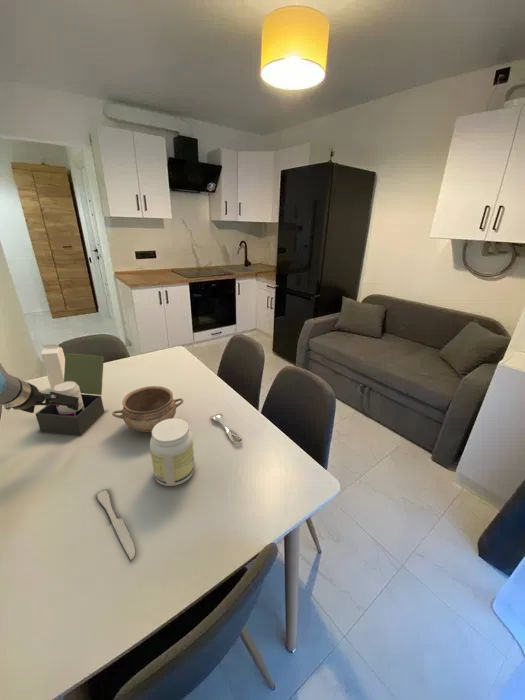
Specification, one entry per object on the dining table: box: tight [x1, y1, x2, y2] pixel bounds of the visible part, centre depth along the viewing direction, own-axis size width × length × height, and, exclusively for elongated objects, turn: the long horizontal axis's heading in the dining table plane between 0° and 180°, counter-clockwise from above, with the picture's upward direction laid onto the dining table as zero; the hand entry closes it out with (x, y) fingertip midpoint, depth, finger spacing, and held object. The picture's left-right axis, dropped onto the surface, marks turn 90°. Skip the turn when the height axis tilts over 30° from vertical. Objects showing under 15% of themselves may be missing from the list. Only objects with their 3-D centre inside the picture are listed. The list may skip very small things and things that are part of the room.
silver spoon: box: [210, 412, 243, 443], centre depth 110 cm, size 20×4×5 cm
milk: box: [40, 343, 65, 392], centre depth 128 cm, size 6×6×22 cm
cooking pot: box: [111, 385, 184, 433], centre depth 109 cm, size 25×19×12 cm
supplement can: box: [53, 381, 84, 417], centre depth 108 cm, size 8×8×15 cm
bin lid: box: [64, 352, 105, 396], centre depth 115 cm, size 15×15×1 cm
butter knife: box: [96, 490, 136, 560], centre depth 75 cm, size 1×24×3 cm
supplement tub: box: [149, 417, 196, 487], centre depth 88 cm, size 12×12×17 cm
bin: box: [35, 393, 105, 436], centre depth 110 cm, size 14×15×8 cm
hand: (55, 407), depth 99 cm, fingers open, 13 cm apart
